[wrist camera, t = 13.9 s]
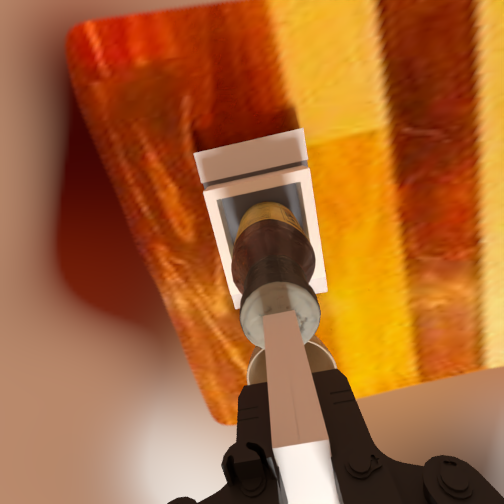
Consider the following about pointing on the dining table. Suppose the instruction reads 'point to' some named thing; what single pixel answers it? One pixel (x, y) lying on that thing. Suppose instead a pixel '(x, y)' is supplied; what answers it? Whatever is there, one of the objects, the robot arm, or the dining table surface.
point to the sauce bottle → (274, 270)
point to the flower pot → (315, 354)
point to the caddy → (259, 192)
